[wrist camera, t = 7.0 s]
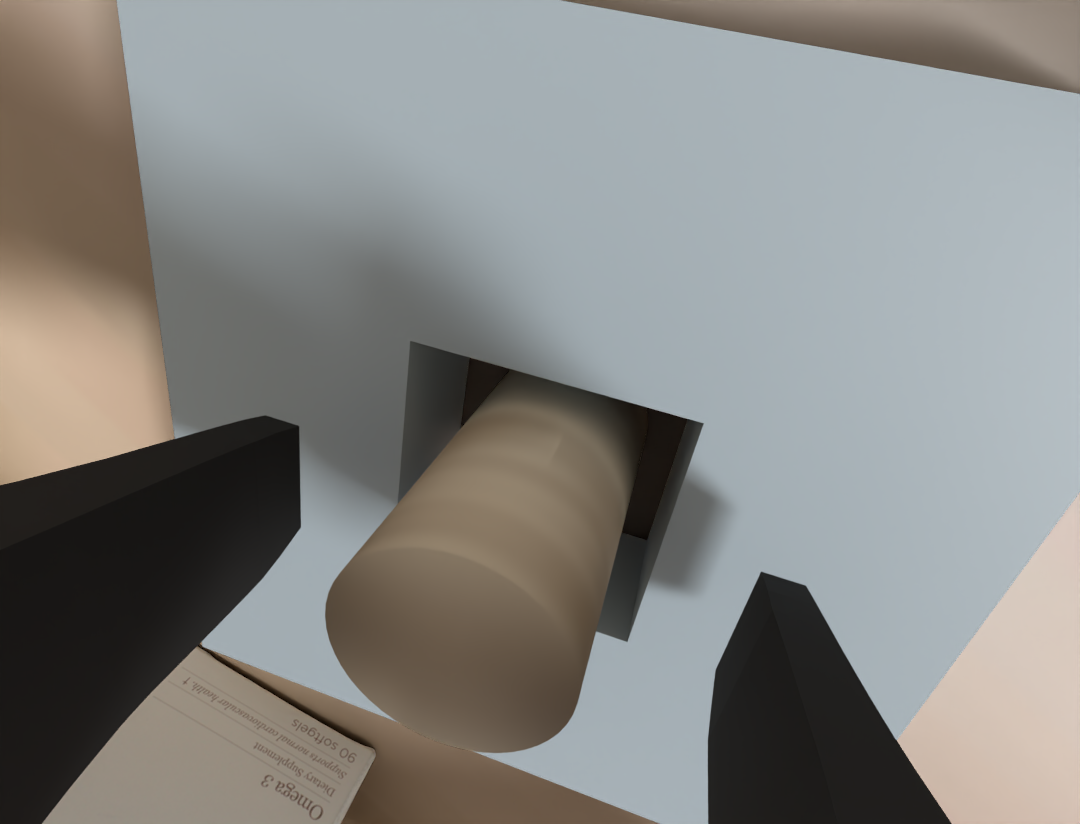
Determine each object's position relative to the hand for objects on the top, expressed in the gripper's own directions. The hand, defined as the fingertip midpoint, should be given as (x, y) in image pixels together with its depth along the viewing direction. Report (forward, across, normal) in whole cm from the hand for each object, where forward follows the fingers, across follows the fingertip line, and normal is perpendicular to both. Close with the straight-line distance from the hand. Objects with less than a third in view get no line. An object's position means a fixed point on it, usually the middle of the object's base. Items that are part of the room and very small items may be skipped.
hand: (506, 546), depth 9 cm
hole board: (+4, 0, 0) cm, 4 cm away
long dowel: (+4, 0, 0) cm, 4 cm away
